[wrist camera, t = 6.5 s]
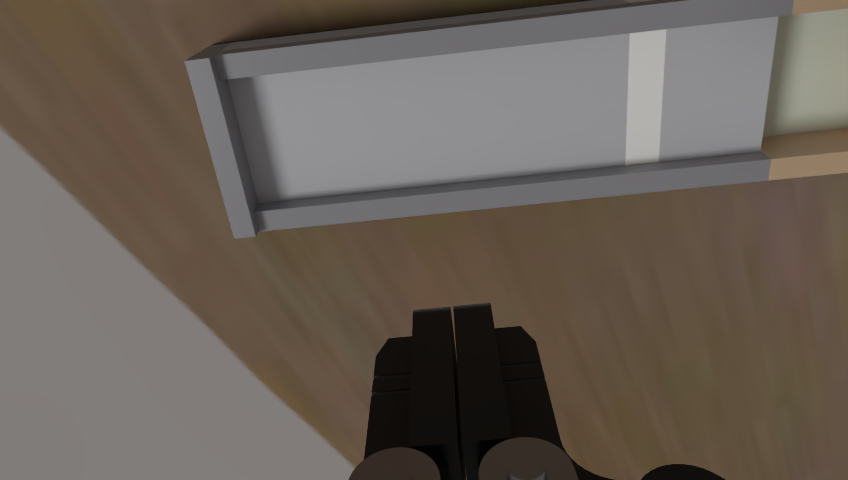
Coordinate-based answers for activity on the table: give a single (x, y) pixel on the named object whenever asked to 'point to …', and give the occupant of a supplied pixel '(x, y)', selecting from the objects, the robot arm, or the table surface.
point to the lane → (523, 108)
